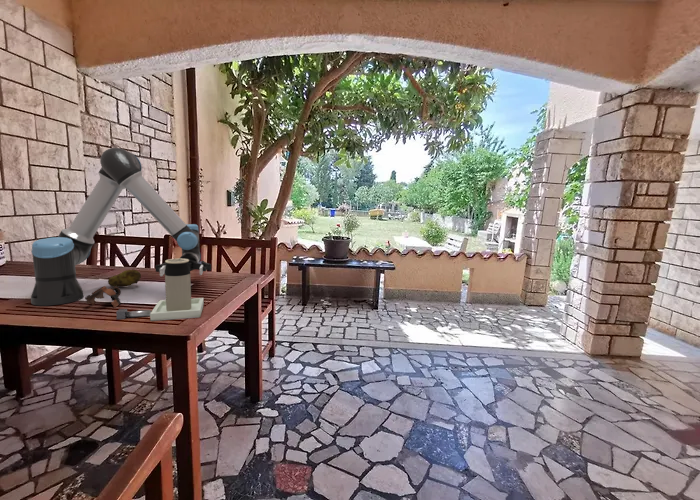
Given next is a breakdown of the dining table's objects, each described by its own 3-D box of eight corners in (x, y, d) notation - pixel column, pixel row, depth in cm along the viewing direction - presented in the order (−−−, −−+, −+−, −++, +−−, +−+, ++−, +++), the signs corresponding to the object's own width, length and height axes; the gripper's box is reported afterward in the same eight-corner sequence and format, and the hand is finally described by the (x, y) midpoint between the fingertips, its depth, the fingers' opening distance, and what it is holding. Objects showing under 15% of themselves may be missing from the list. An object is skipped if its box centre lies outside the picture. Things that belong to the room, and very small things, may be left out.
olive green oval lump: (123, 283, 153) (122, 266, 152) (145, 286, 150) (144, 268, 149) (105, 287, 146) (104, 269, 144) (128, 290, 142) (127, 272, 141)
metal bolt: (116, 319, 109) (116, 311, 109) (119, 316, 112) (118, 309, 112) (149, 317, 113) (148, 309, 112) (151, 314, 115) (150, 307, 115)
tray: (150, 321, 109) (150, 313, 109) (159, 306, 123) (159, 300, 123) (200, 317, 114) (199, 310, 114) (203, 304, 128) (203, 297, 128)
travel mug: (181, 314, 114) (179, 263, 111) (161, 312, 115) (158, 261, 113) (196, 307, 122) (194, 259, 119) (176, 305, 123) (174, 257, 120)
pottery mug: (111, 311, 118) (95, 293, 115) (91, 320, 120) (75, 303, 117) (133, 294, 129) (118, 277, 126) (114, 302, 131) (100, 286, 128)
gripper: (219, 269, 150) (216, 280, 130) (156, 270, 142) (143, 283, 122) (218, 253, 149) (216, 261, 129) (155, 253, 141) (142, 263, 121)
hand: (181, 272), depth 126 cm, fingers open, 13 cm apart
